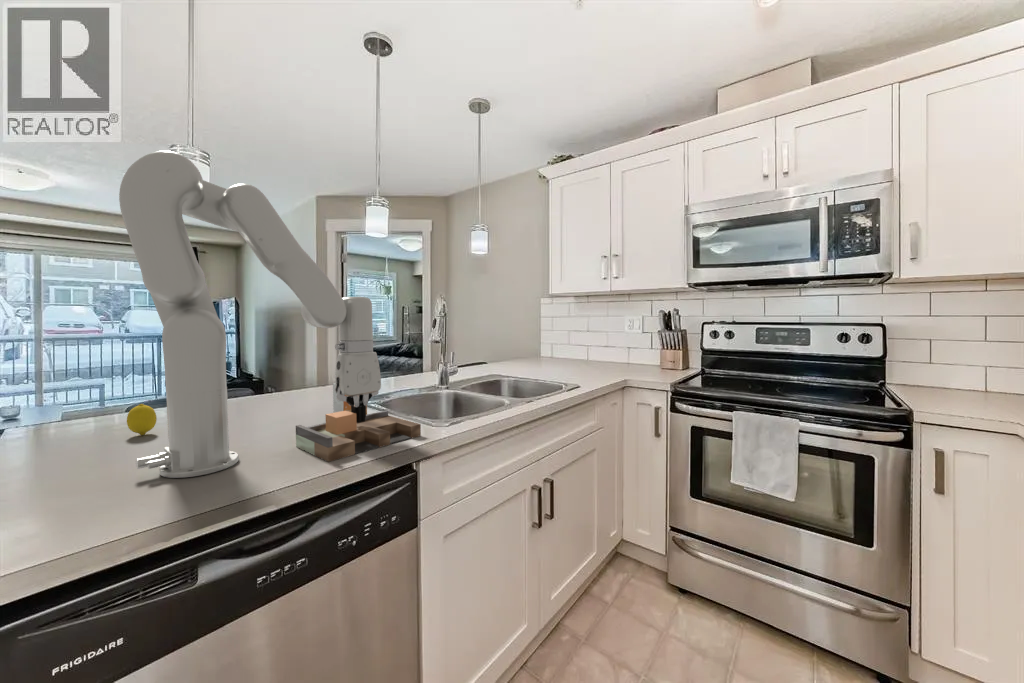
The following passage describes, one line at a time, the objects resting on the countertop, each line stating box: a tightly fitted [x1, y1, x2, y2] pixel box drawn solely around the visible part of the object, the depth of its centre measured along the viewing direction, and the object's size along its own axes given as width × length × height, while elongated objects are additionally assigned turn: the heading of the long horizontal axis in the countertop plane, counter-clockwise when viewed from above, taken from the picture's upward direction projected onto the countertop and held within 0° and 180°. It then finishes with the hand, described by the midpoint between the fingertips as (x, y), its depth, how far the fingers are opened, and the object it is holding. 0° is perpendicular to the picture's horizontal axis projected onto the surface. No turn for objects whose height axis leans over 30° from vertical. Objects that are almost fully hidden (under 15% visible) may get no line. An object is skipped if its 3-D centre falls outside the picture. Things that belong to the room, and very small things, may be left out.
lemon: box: [126, 403, 158, 436], centre depth 102 cm, size 6×6×8 cm
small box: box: [332, 382, 368, 415], centre depth 121 cm, size 8×6×10 cm
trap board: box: [295, 410, 422, 463], centre depth 98 cm, size 24×15×5 cm, turn 141°
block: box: [324, 411, 357, 435], centre depth 96 cm, size 5×5×4 cm
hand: (358, 421), depth 100 cm, fingers closed
